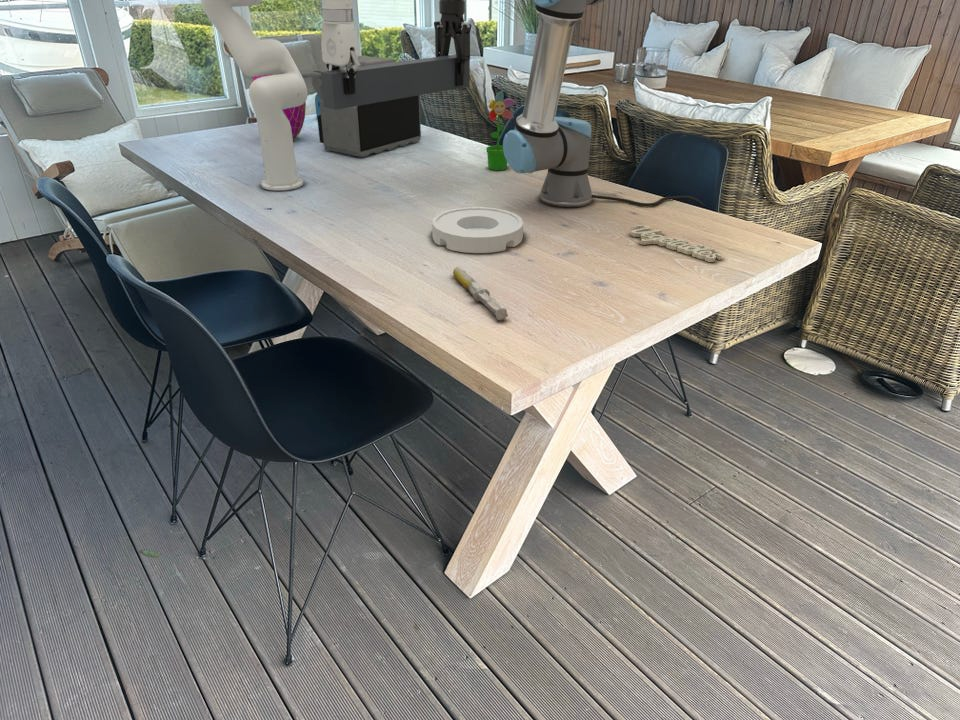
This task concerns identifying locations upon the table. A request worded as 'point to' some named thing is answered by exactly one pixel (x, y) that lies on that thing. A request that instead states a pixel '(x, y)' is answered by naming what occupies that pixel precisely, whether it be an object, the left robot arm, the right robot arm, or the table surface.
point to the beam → (392, 81)
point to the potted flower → (496, 152)
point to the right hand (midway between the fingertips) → (452, 84)
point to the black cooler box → (368, 121)
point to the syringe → (479, 293)
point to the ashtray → (477, 229)
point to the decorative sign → (674, 243)
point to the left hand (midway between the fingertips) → (343, 91)
